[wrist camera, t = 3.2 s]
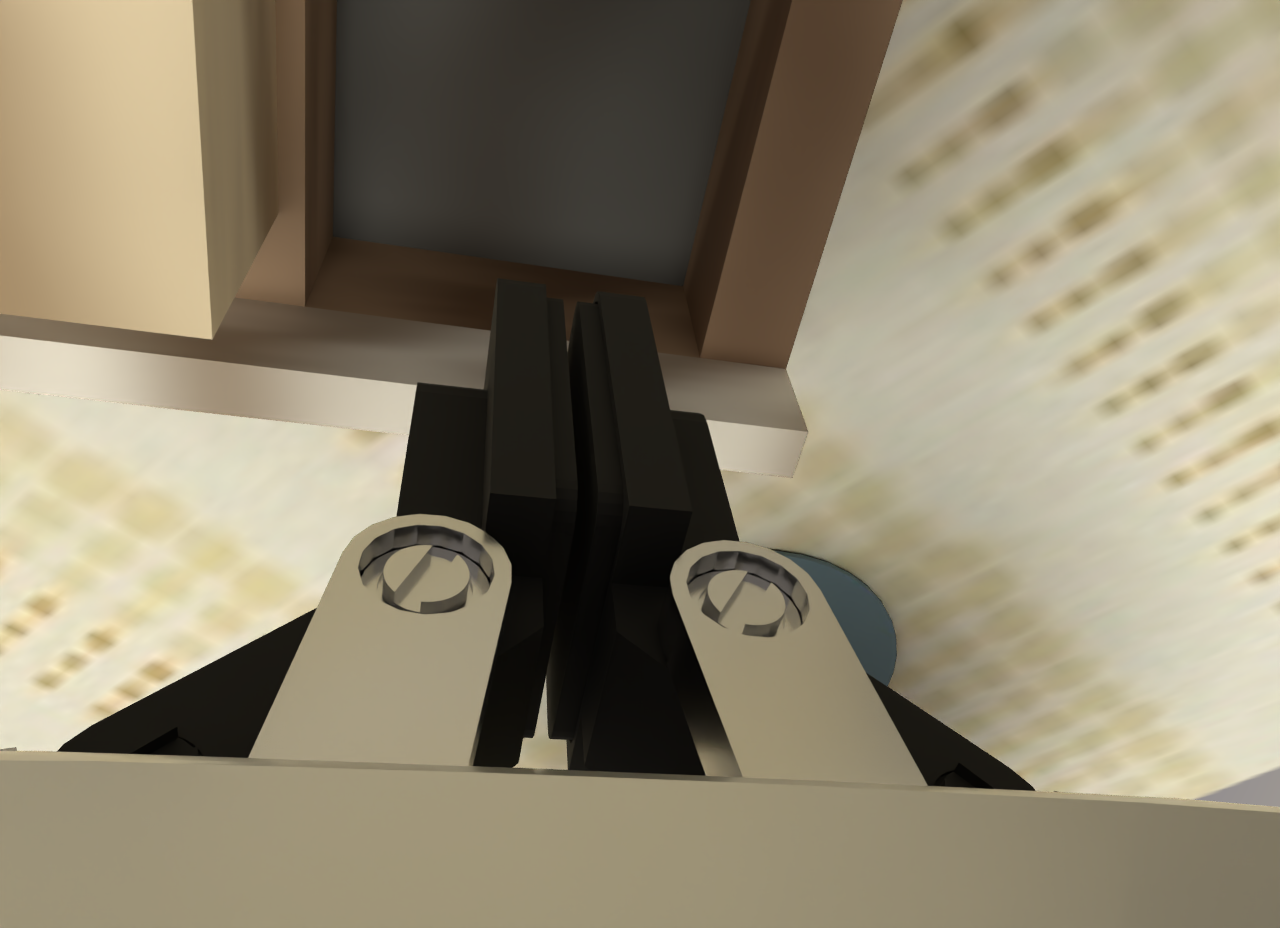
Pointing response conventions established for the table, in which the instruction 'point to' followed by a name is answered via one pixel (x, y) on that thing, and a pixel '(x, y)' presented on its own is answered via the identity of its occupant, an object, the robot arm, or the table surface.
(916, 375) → the table surface
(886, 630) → the cocktail glass
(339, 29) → the trap deck
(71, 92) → the maple block
